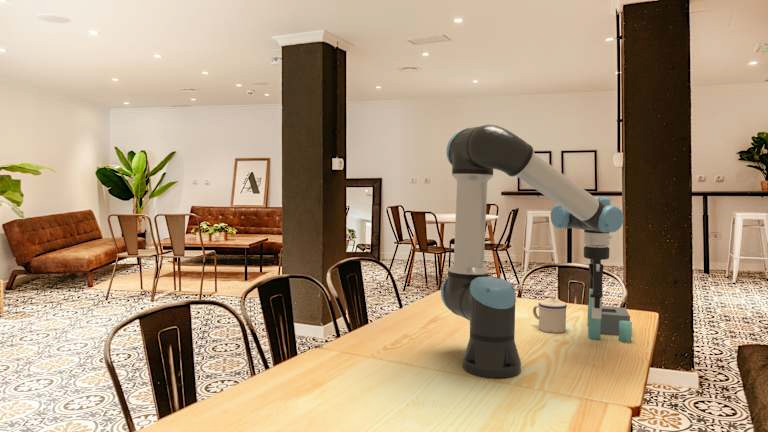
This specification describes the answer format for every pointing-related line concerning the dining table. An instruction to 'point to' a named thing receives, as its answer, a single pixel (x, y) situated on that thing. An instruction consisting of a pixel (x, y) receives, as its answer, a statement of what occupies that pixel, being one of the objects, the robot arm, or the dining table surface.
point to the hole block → (611, 319)
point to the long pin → (593, 323)
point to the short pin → (625, 331)
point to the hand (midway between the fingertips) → (594, 313)
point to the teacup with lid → (551, 315)
